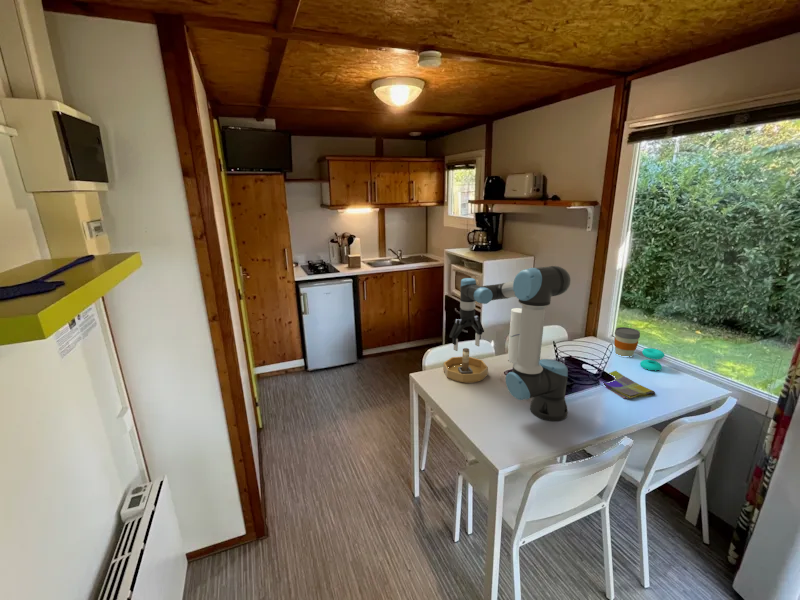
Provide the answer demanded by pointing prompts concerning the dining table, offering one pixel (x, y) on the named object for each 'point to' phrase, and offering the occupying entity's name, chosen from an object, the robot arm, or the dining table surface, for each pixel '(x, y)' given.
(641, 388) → the dish towel
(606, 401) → the dining table surface
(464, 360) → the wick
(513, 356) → the container
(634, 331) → the reusable coffee cup
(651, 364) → the donuts
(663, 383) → the dining table surface
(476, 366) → the octagonal shallow tray
